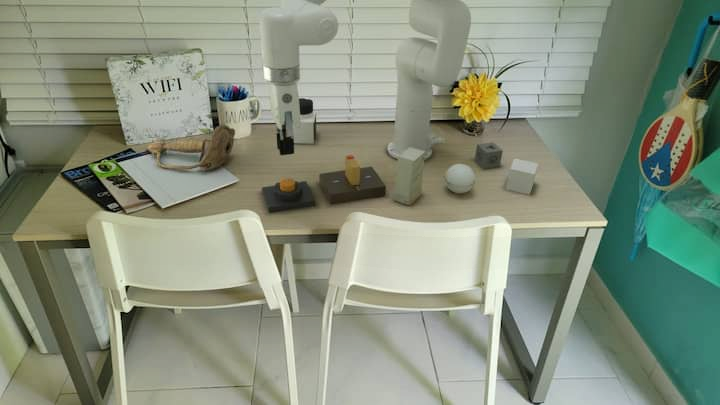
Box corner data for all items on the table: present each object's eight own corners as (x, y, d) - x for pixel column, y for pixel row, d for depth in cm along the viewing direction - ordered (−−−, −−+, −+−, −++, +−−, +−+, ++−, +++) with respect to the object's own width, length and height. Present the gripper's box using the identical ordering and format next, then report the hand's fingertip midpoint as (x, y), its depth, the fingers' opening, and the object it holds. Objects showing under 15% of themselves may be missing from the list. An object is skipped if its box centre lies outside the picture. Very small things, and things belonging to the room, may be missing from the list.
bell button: (293, 183, 123) (293, 177, 122) (296, 191, 120) (296, 184, 119) (278, 185, 122) (278, 179, 121) (281, 193, 119) (281, 187, 118)
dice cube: (499, 166, 140) (502, 150, 137) (483, 169, 138) (486, 152, 135) (490, 158, 143) (493, 142, 141) (474, 160, 142) (477, 144, 139)
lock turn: (359, 184, 124) (360, 165, 121) (351, 185, 123) (352, 166, 120) (352, 173, 128) (353, 154, 125) (344, 174, 127) (345, 156, 124)
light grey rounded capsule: (440, 183, 131) (444, 158, 127) (469, 183, 131) (473, 158, 127) (447, 205, 123) (451, 178, 119) (477, 205, 123) (482, 179, 119)
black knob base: (306, 186, 128) (306, 174, 126) (315, 206, 121) (315, 193, 119) (262, 193, 125) (261, 180, 123) (268, 213, 118) (267, 200, 116)
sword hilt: (211, 159, 125) (232, 115, 133) (120, 146, 128) (146, 104, 137) (221, 184, 133) (241, 141, 141) (136, 171, 137) (160, 130, 145)
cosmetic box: (409, 206, 122) (414, 161, 115) (393, 200, 124) (396, 156, 117) (421, 194, 126) (426, 151, 120) (405, 189, 128) (409, 145, 122)
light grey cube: (529, 195, 128) (534, 174, 125) (505, 189, 130) (510, 168, 127) (533, 183, 133) (538, 163, 129) (510, 178, 135) (514, 158, 131)
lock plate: (371, 176, 133) (372, 165, 131) (385, 196, 125) (386, 185, 123) (319, 183, 129) (319, 173, 127) (330, 205, 121) (330, 193, 120)
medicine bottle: (314, 144, 147) (313, 105, 141) (289, 143, 147) (287, 104, 140) (316, 133, 153) (315, 95, 146) (292, 132, 153) (291, 94, 146)
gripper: (308, 83, 100) (310, 165, 110) (291, 58, 113) (294, 134, 123) (270, 87, 98) (275, 170, 108) (257, 61, 111) (263, 138, 121)
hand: (285, 150), depth 115 cm, fingers closed
